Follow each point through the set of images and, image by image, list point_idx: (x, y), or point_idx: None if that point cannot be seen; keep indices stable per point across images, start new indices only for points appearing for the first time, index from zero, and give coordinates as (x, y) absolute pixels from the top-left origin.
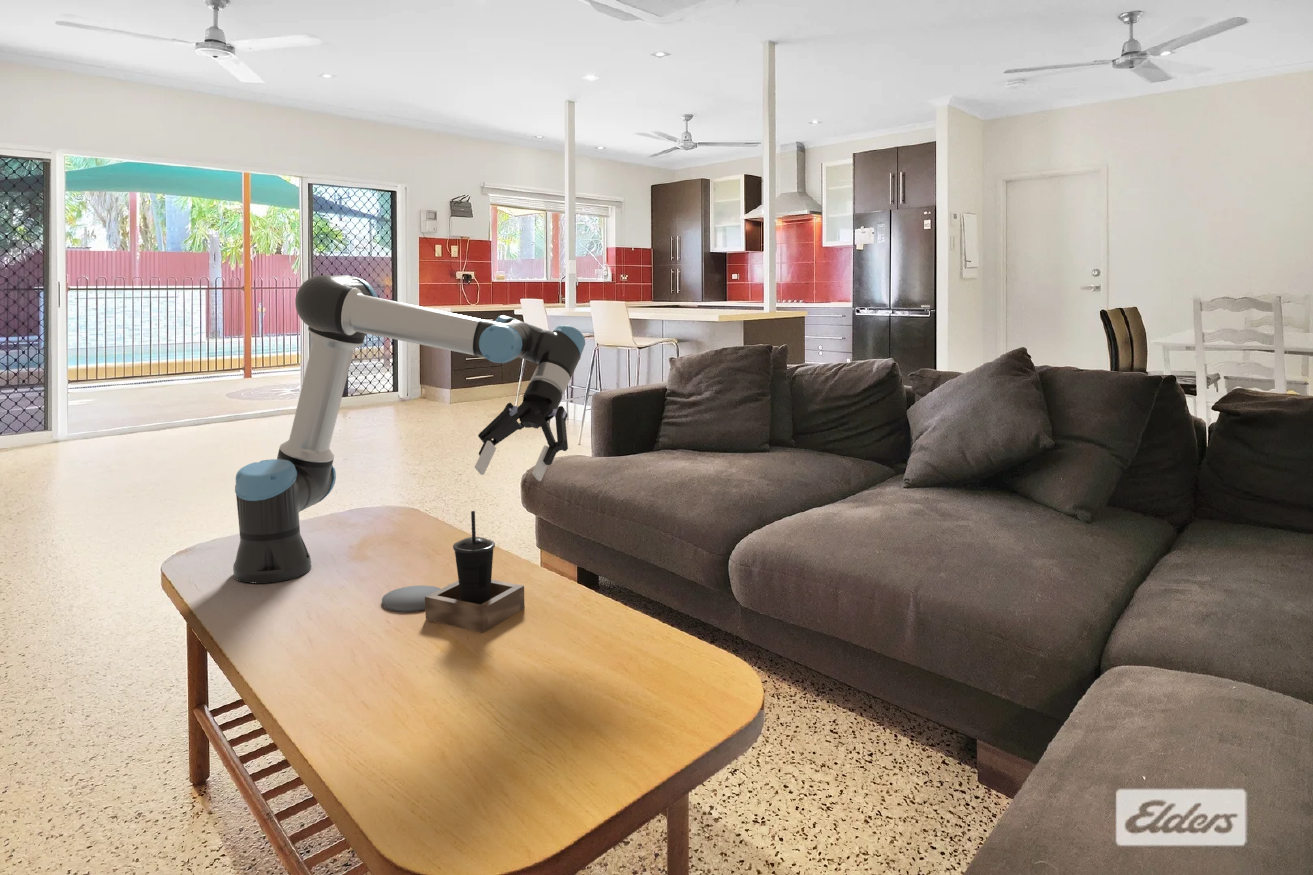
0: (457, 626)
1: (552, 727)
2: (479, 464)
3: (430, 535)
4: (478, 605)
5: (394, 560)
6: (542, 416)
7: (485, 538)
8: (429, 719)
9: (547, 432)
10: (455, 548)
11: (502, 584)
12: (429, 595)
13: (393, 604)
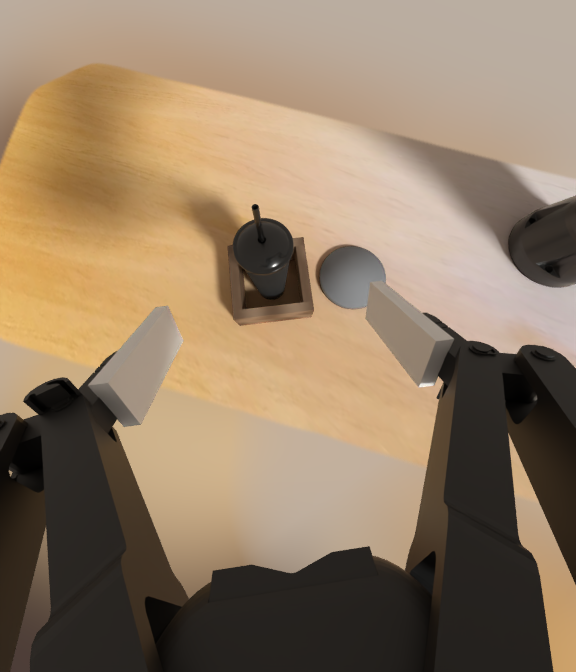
0: None
1: (87, 178)
2: (375, 289)
3: None
4: None
5: None
6: None
7: (256, 260)
8: (169, 145)
9: (66, 473)
10: (272, 219)
11: (258, 308)
12: (302, 242)
13: (351, 250)
